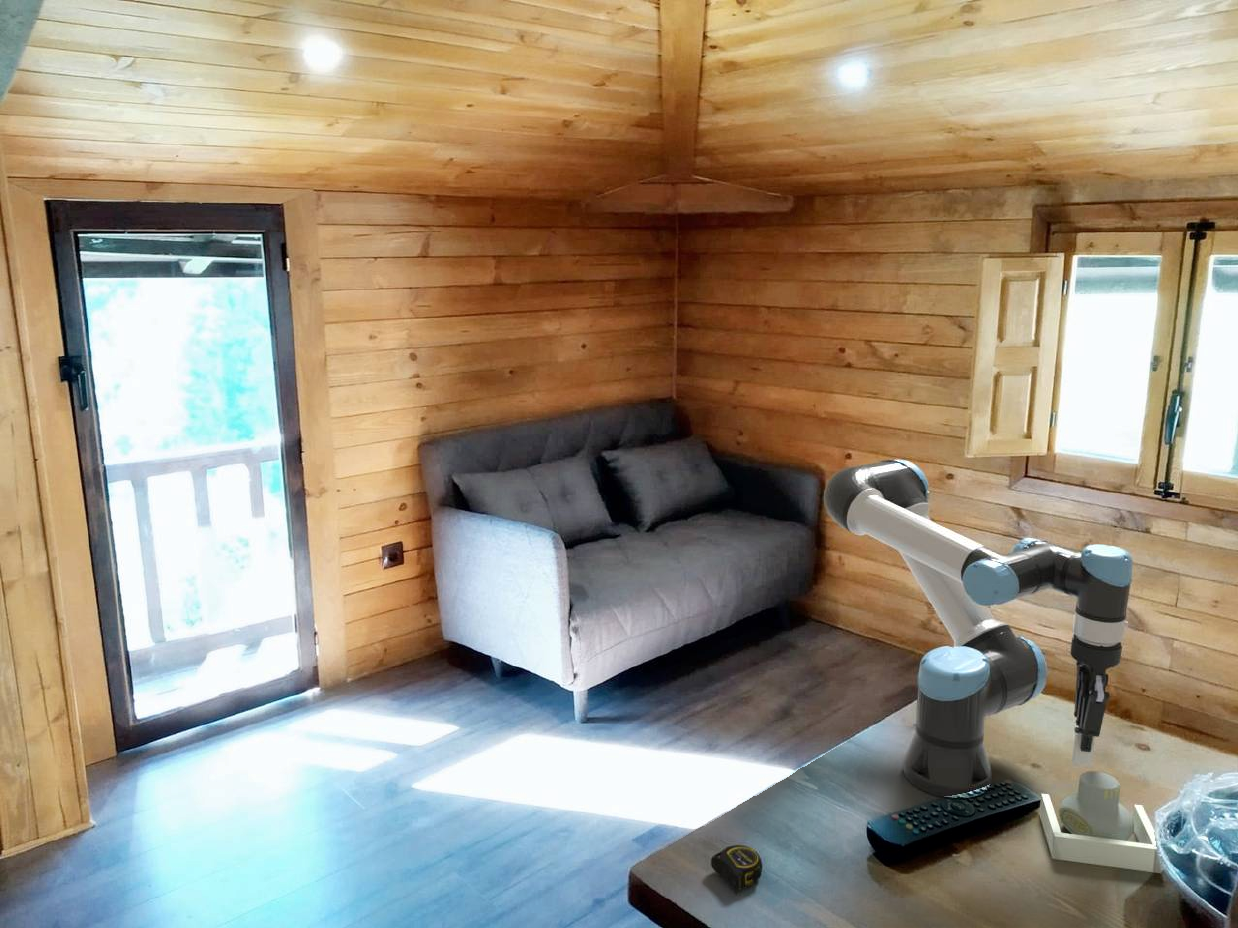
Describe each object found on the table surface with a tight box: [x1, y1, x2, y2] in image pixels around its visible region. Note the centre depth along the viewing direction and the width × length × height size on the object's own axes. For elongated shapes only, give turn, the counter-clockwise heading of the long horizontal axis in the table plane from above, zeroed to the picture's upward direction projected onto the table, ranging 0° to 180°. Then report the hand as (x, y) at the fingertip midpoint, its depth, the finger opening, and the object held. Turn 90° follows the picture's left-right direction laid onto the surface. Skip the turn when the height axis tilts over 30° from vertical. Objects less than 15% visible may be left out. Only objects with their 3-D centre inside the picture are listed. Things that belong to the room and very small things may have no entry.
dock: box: [1039, 793, 1163, 874], centre depth 151 cm, size 15×12×4 cm
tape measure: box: [710, 844, 763, 892], centre depth 144 cm, size 7×7×4 cm
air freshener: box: [1058, 770, 1135, 841], centre depth 152 cm, size 11×8×10 cm
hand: (1081, 763), depth 162 cm, fingers closed
